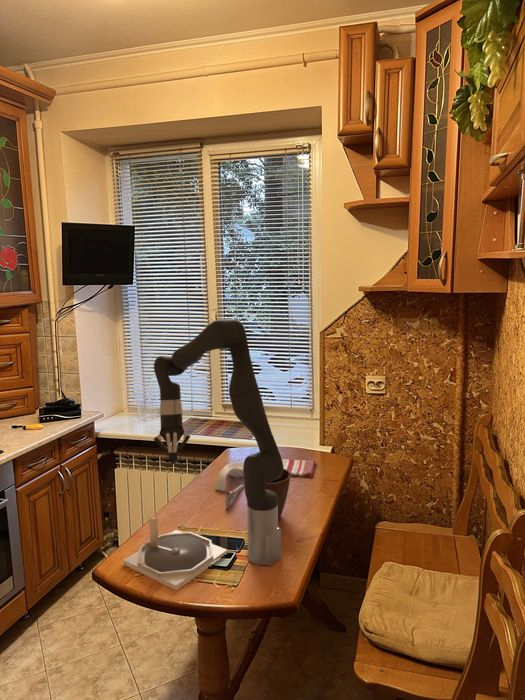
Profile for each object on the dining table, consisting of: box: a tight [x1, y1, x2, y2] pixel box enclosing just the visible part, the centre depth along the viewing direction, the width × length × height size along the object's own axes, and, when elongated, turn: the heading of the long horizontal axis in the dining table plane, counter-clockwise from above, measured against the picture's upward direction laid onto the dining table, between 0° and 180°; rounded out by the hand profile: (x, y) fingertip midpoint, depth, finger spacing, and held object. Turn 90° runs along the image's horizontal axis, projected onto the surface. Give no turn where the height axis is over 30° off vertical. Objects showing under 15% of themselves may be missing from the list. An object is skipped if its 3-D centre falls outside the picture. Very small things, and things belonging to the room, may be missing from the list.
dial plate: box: [122, 529, 228, 591], centre depth 157 cm, size 22×22×3 cm
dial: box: [145, 515, 207, 572], centre depth 156 cm, size 19×19×10 cm
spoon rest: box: [214, 462, 244, 492], centre depth 215 cm, size 24×12×7 cm, turn 158°
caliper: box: [225, 484, 245, 509], centre depth 199 cm, size 20×1×6 cm, turn 165°
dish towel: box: [282, 458, 316, 478], centre depth 226 cm, size 17×23×3 cm
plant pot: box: [265, 469, 291, 521], centre depth 181 cm, size 15×15×16 cm
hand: (173, 463), depth 178 cm, fingers closed
